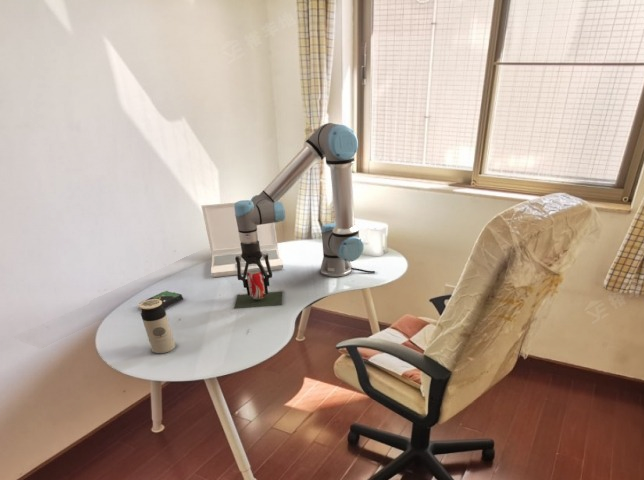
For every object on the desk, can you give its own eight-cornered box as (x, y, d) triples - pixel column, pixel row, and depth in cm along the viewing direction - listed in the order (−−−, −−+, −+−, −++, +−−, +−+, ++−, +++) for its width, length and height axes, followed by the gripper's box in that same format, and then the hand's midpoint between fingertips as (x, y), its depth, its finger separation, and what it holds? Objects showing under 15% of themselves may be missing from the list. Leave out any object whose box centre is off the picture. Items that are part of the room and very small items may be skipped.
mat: (282, 291, 207) (282, 291, 207) (281, 304, 196) (281, 304, 196) (237, 295, 206) (237, 294, 206) (234, 308, 194) (234, 308, 194)
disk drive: (157, 313, 193) (183, 299, 203) (155, 307, 191) (182, 293, 202) (140, 309, 197) (167, 295, 208) (138, 303, 196) (165, 289, 206)
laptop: (212, 278, 224) (199, 218, 208) (213, 260, 245) (201, 205, 229) (283, 269, 230) (276, 211, 214) (278, 253, 251) (271, 199, 235)
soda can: (263, 300, 197) (259, 274, 190) (247, 299, 198) (243, 273, 191) (269, 294, 202) (265, 267, 196) (254, 293, 204) (249, 267, 197)
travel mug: (154, 344, 170) (139, 300, 160) (176, 341, 172) (163, 297, 162) (151, 355, 164) (136, 309, 154) (174, 352, 165) (161, 306, 155)
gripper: (223, 245, 183) (233, 298, 195) (273, 242, 184) (280, 295, 197) (225, 240, 189) (235, 291, 202) (274, 236, 190) (281, 288, 203)
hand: (257, 293), depth 199 cm, fingers closed on soda can, 7 cm apart
